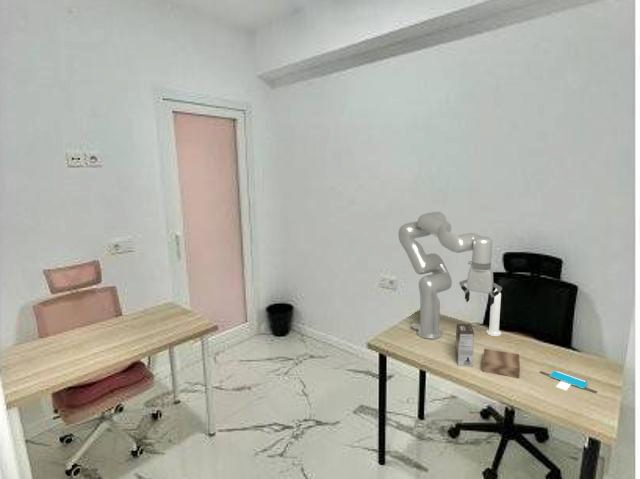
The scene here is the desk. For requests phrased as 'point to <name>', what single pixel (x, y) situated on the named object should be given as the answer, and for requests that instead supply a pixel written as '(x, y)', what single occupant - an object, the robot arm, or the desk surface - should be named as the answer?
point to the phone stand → (568, 380)
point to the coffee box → (464, 344)
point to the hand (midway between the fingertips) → (479, 302)
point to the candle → (495, 316)
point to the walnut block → (501, 363)
